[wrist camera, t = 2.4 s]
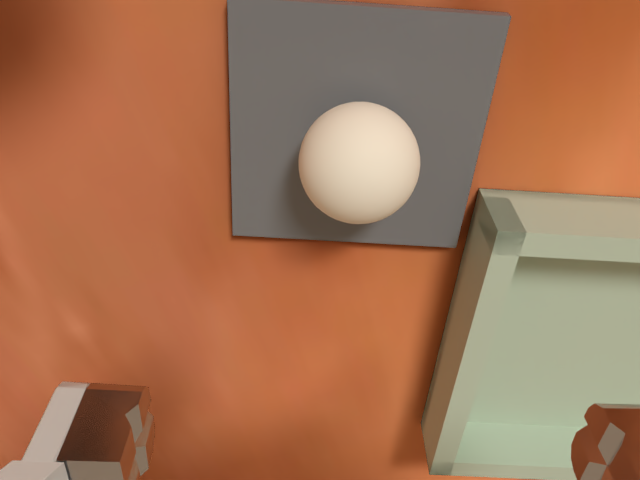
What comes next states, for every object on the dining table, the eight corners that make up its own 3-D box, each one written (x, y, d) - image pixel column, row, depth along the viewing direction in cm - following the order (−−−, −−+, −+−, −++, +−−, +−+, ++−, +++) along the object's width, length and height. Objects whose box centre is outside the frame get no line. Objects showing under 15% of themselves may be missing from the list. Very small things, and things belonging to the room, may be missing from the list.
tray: (878, 212, 23) (944, 256, 21) (720, 437, 31) (754, 488, 29) (479, 188, 23) (498, 231, 20) (420, 423, 31) (429, 474, 28)
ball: (420, 87, 20) (439, 136, 17) (403, 190, 22) (417, 251, 19) (303, 79, 20) (299, 127, 17) (297, 183, 22) (293, 244, 19)
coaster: (507, 12, 19) (511, 16, 19) (453, 240, 24) (456, 247, 24) (229, -7, 19) (227, -4, 18) (234, 228, 24) (232, 235, 23)
